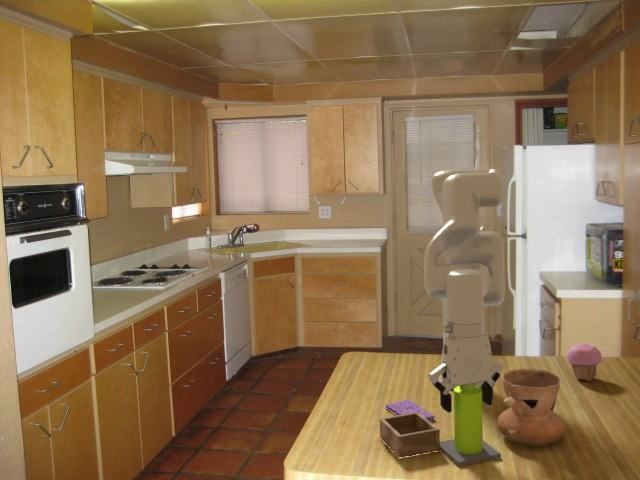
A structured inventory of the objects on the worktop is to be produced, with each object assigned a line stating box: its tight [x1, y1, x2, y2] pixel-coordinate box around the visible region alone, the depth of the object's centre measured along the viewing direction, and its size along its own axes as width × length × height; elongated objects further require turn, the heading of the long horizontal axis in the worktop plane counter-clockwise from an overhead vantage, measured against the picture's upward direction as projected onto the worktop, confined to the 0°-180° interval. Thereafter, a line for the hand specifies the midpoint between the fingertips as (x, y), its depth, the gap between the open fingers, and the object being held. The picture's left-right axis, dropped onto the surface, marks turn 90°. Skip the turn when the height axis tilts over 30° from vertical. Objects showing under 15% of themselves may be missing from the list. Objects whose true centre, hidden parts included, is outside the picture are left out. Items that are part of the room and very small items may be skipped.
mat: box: [440, 438, 502, 467], centre depth 142 cm, size 10×10×1 cm
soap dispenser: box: [453, 383, 484, 454], centre depth 141 cm, size 6×7×20 cm
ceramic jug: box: [497, 368, 567, 447], centre depth 147 cm, size 18×14×14 cm
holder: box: [379, 412, 441, 458], centre depth 146 cm, size 11×10×5 cm
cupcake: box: [566, 343, 603, 382], centre depth 182 cm, size 9×9×10 cm
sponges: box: [385, 398, 436, 422], centre depth 164 cm, size 7×13×2 cm, turn 23°
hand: (466, 406), depth 140 cm, fingers open, 9 cm apart
